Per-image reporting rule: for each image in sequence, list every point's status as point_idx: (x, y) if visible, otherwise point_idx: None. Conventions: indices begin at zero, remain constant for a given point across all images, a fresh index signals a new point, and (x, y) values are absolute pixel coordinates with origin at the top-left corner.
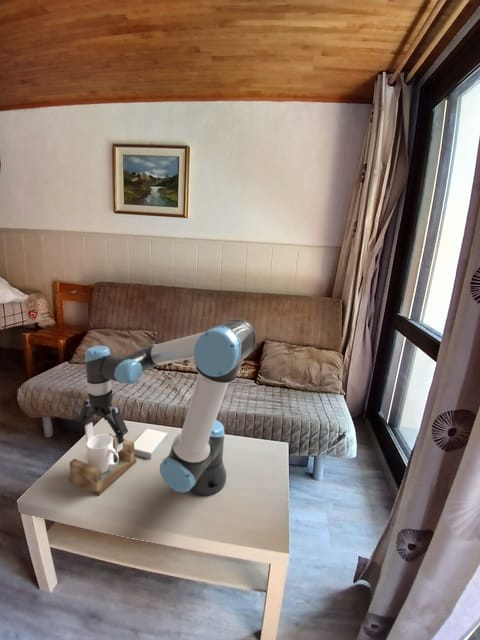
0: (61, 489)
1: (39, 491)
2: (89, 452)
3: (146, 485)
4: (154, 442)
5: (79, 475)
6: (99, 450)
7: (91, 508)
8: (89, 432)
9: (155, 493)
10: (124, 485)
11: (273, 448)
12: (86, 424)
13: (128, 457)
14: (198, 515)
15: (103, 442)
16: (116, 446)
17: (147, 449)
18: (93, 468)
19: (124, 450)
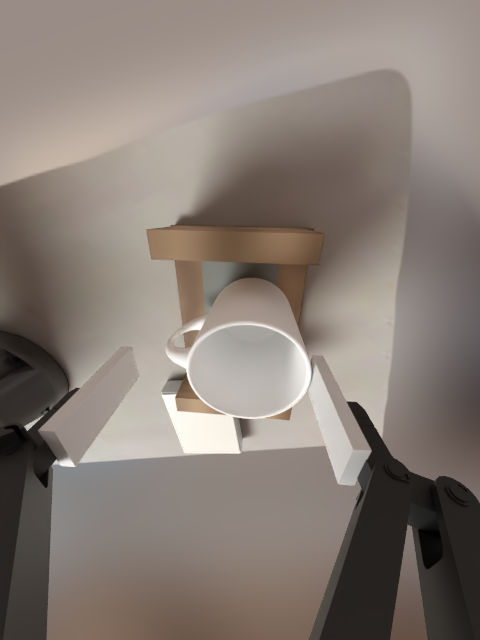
0: (308, 185)
1: (383, 133)
2: (256, 308)
3: (102, 309)
4: (184, 423)
5: (258, 229)
6: (203, 330)
7: (151, 167)
8: (324, 406)
9: (62, 297)
10: (148, 287)
11: None
12: (368, 465)
13: None
14: None
15: (269, 381)
16: (98, 370)
17: None
18: (184, 250)
19: None
